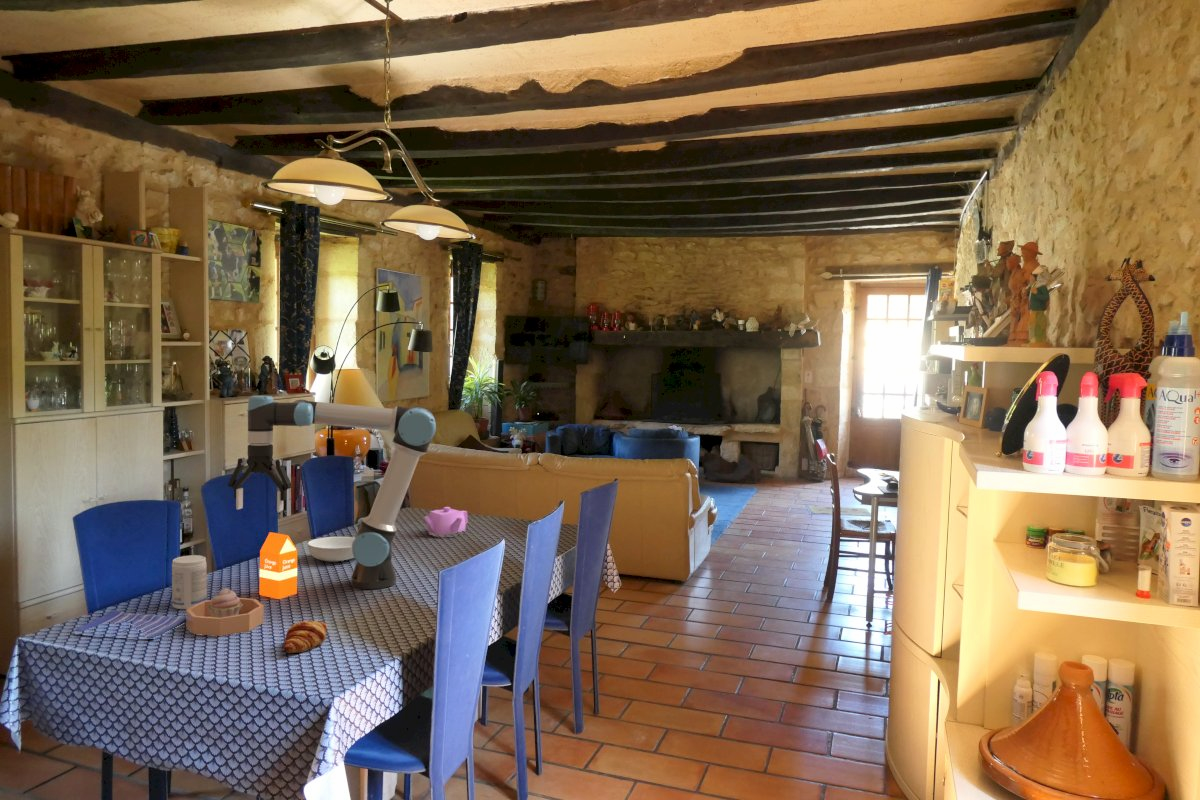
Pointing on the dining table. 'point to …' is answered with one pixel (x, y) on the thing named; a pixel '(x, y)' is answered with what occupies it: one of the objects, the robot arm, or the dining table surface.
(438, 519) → the teakettle
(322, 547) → the serving bowl
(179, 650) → the dining table surface
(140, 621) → the dish towel
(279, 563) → the orange juice
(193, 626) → the bowl
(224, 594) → the cupcake
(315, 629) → the croissant
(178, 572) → the supplement tub
